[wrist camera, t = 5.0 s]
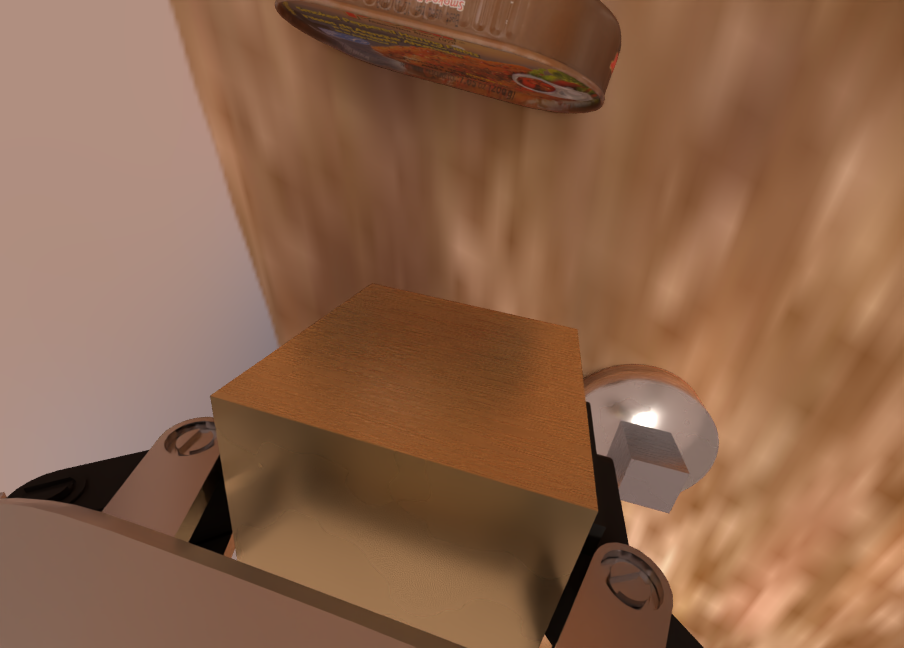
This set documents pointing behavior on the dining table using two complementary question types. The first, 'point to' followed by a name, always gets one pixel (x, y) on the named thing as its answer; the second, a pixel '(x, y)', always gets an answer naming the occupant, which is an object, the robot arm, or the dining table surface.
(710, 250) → the dining table surface
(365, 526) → the tan wooden cube
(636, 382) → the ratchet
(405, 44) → the tin
